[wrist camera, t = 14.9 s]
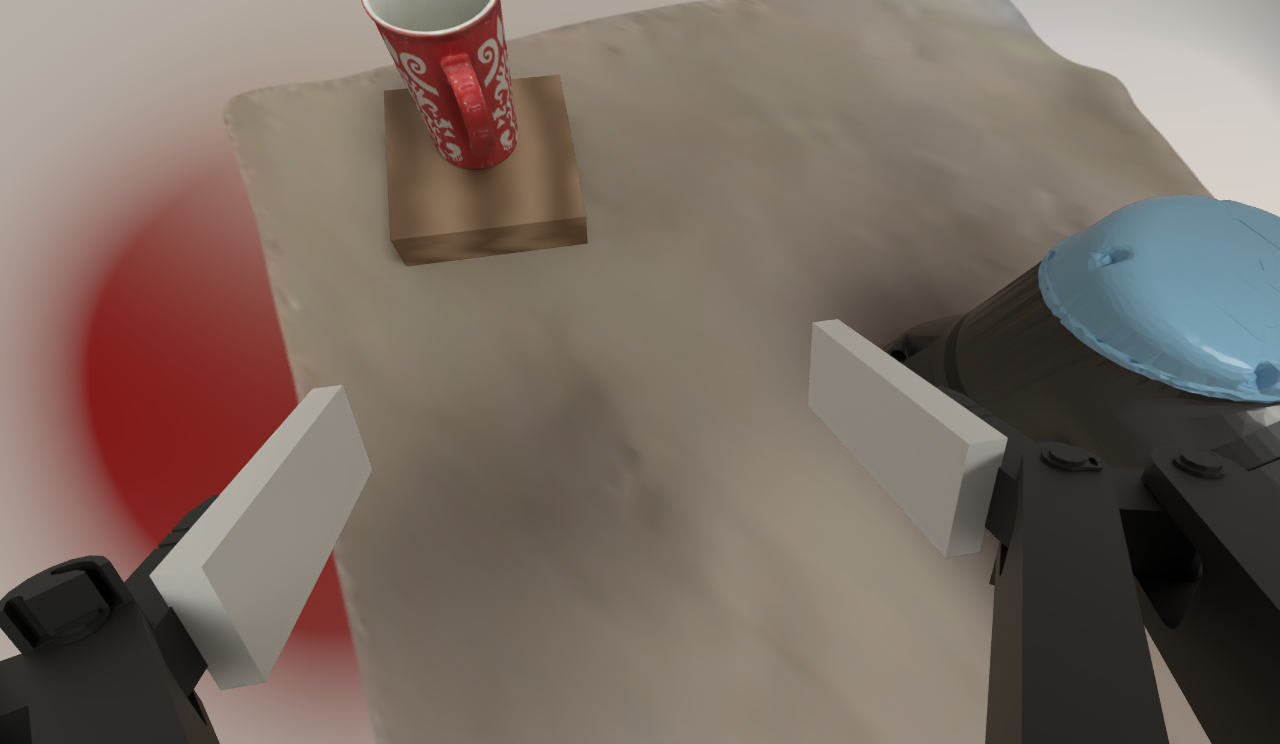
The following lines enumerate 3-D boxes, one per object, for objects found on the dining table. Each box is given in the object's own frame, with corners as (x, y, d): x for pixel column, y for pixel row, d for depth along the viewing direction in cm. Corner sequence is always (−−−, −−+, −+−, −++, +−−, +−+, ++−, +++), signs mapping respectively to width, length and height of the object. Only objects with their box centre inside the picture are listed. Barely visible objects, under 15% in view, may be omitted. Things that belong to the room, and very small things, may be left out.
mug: (414, 109, 50) (348, -50, 37) (513, 89, 51) (482, -71, 38) (444, 223, 46) (382, 89, 33) (550, 197, 47) (530, 59, 34)
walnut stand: (562, 108, 56) (559, 74, 52) (587, 243, 50) (585, 216, 47) (399, 124, 54) (384, 90, 50) (407, 266, 49) (390, 240, 45)
